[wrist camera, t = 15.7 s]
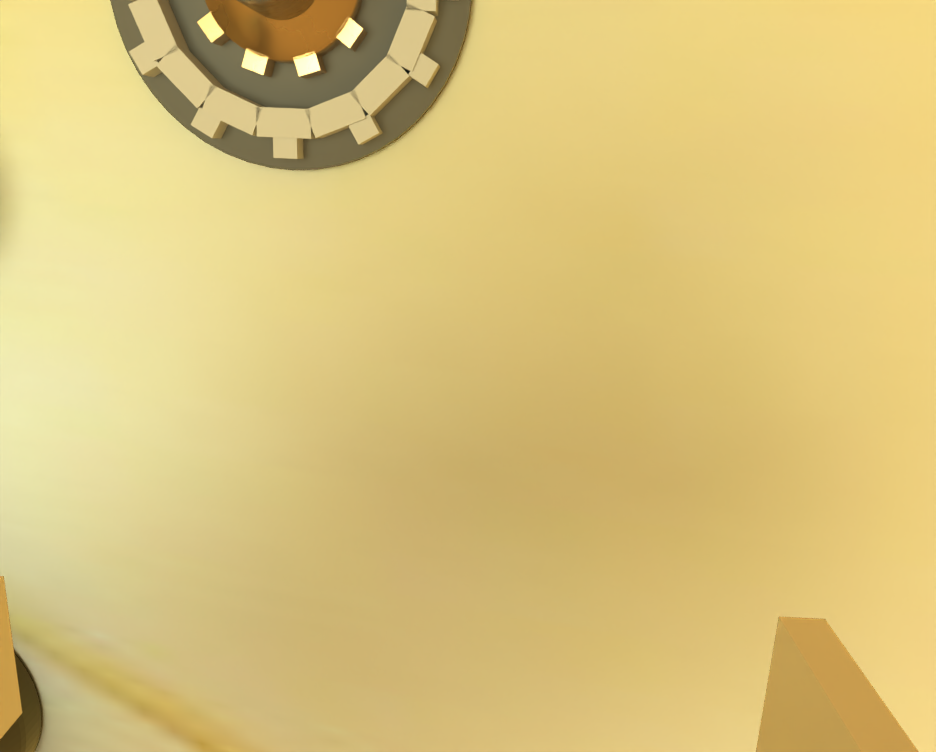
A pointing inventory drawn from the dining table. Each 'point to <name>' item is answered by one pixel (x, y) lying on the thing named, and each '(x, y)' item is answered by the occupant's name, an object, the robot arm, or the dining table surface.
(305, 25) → the sun gear
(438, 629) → the dining table surface
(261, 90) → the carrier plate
